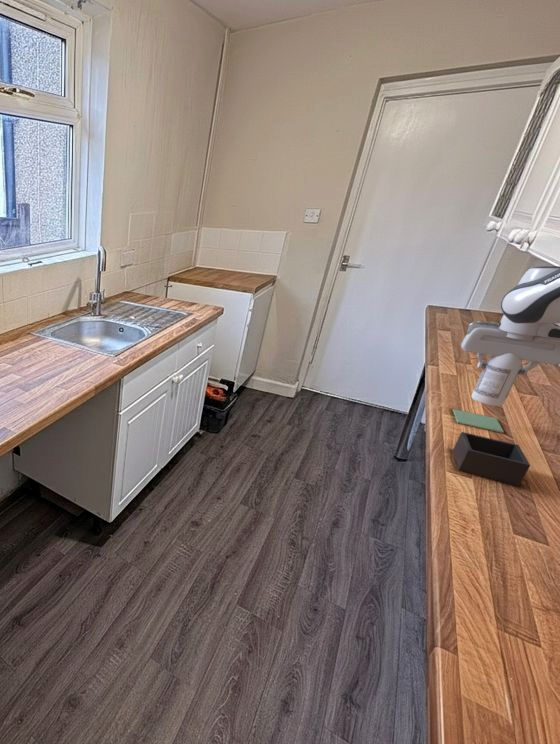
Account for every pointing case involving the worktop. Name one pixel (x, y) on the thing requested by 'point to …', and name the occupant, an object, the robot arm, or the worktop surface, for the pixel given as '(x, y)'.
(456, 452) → the holder
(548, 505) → the worktop surface
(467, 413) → the mat
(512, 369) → the bath foam
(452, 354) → the worktop surface
